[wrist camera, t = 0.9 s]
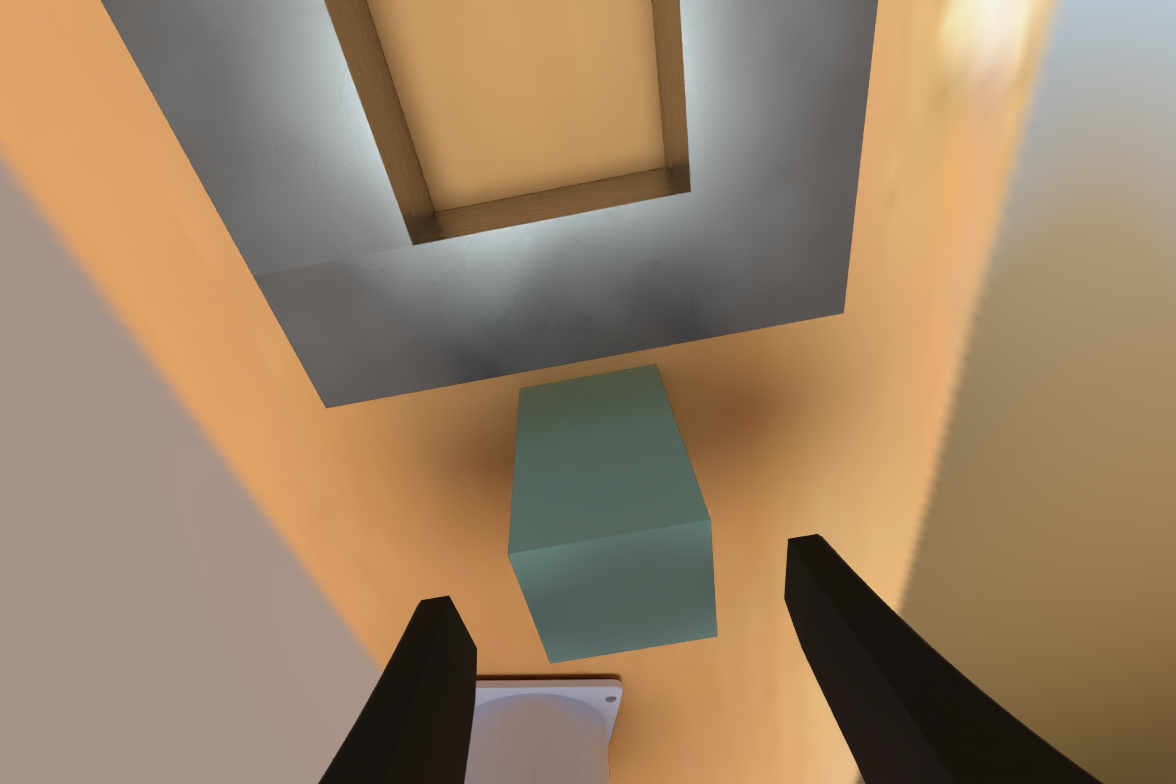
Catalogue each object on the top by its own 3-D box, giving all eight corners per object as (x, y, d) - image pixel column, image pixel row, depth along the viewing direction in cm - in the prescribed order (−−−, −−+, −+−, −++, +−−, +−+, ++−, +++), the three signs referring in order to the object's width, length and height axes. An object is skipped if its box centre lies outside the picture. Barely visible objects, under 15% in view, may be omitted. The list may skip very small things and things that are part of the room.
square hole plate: (798, 273, 14) (843, 313, 12) (358, 355, 14) (325, 408, 12) (844, -549, 7) (964, -789, 5) (21, -348, 8) (-173, -495, 6)
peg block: (667, 466, 17) (717, 636, 12) (548, 487, 17) (550, 663, 12) (655, 363, 15) (710, 520, 10) (520, 388, 15) (507, 554, 10)
